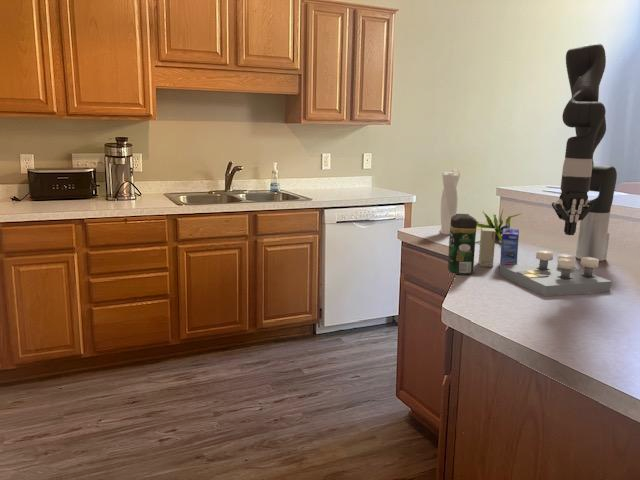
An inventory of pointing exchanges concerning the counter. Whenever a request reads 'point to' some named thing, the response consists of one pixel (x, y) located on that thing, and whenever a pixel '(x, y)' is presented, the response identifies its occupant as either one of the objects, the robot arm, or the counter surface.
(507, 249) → the ink cartridge box
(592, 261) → the button
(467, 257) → the coffee jar
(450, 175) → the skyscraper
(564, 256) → the button
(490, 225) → the decorative plant
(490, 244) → the skincare box
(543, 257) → the button
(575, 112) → the robot arm
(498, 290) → the counter surface
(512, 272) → the board
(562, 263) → the button
